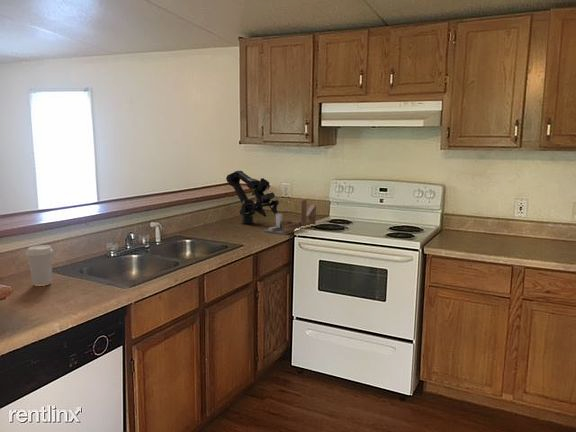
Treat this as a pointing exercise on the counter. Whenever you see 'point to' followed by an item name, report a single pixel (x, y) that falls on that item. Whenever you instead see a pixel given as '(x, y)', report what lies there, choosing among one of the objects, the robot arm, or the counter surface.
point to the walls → (290, 225)
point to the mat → (278, 231)
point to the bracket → (277, 223)
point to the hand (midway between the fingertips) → (271, 215)
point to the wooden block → (307, 213)
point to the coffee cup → (40, 263)
